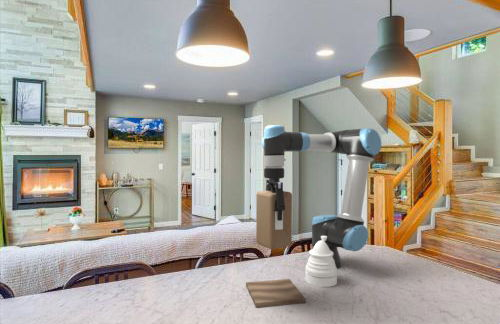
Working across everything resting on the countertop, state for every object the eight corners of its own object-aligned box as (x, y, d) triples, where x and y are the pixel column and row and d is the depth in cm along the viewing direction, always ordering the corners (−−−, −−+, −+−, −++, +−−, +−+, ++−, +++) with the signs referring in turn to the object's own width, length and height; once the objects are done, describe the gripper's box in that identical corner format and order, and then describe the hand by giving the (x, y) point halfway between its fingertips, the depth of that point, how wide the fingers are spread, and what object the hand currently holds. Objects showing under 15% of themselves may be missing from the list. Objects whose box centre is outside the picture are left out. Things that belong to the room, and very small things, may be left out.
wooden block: (292, 246, 119) (293, 192, 118) (271, 250, 113) (271, 194, 113) (276, 240, 127) (276, 189, 127) (255, 243, 122) (255, 191, 121)
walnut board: (246, 286, 128) (246, 282, 128) (289, 282, 131) (289, 278, 131) (255, 307, 110) (255, 303, 110) (305, 302, 114) (305, 298, 114)
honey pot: (316, 272, 143) (316, 232, 142) (343, 280, 134) (343, 237, 133) (299, 280, 134) (299, 237, 133) (326, 289, 125) (326, 243, 124)
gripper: (294, 168, 108) (294, 232, 109) (274, 166, 132) (274, 218, 133) (273, 169, 107) (273, 233, 107) (257, 166, 131) (257, 219, 131)
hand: (274, 225), depth 120 cm, fingers closed on wooden block, 12 cm apart
